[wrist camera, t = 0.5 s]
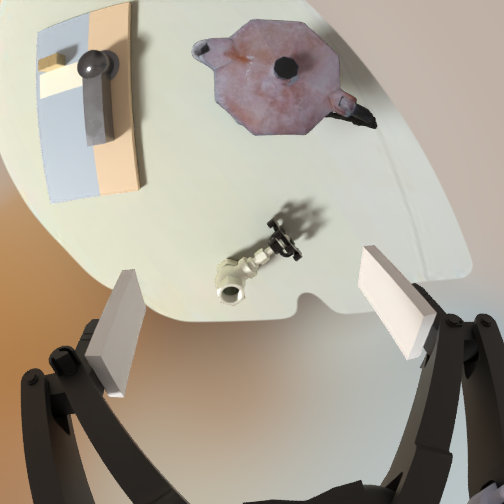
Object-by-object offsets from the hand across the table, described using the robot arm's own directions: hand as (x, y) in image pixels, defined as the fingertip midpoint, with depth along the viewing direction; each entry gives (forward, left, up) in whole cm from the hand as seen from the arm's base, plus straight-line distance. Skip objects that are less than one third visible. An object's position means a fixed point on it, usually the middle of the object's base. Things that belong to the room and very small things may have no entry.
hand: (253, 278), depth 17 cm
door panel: (-13, -19, -24) cm, 33 cm away
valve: (+11, +2, -24) cm, 27 cm away
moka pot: (-11, +4, -24) cm, 27 cm away
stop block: (-20, -23, -23) cm, 38 cm away
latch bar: (-13, -16, -23) cm, 30 cm away
